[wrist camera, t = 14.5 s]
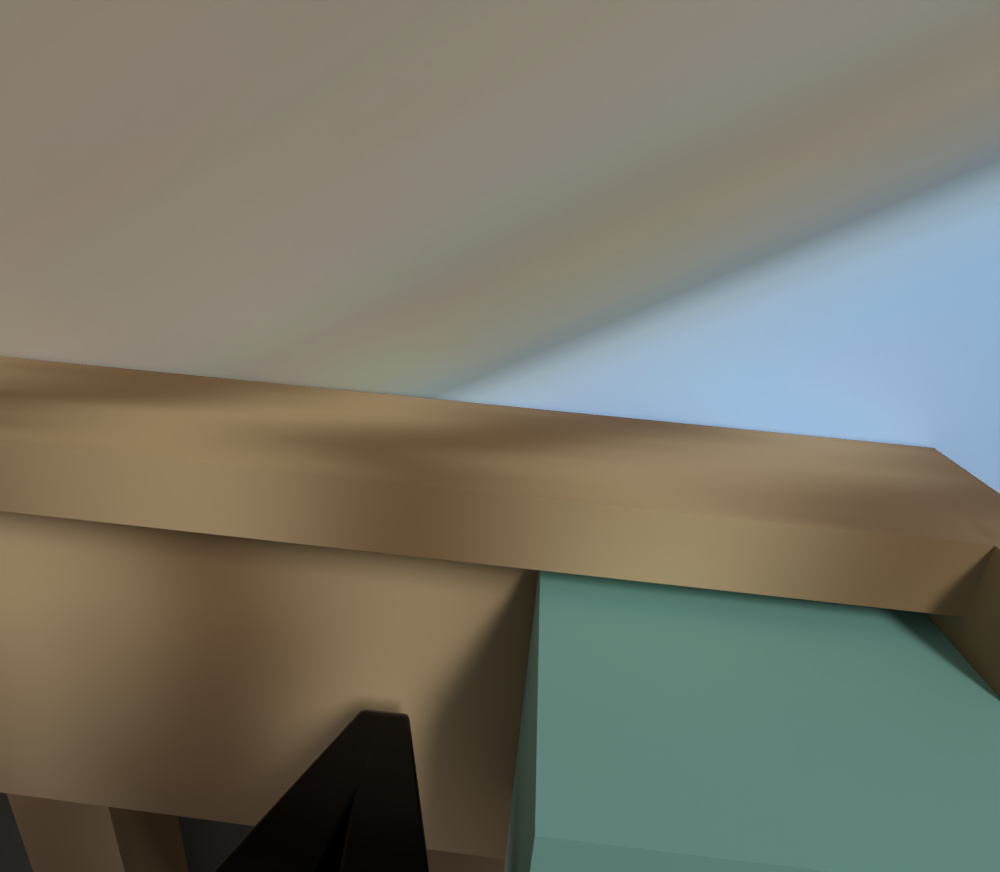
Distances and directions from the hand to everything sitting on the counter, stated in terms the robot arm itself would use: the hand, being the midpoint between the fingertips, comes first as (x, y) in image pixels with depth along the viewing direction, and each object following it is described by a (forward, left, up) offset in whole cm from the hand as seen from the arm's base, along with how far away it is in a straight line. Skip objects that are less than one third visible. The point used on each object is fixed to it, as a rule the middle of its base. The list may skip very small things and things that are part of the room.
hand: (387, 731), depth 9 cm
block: (-5, -1, -1) cm, 5 cm away
